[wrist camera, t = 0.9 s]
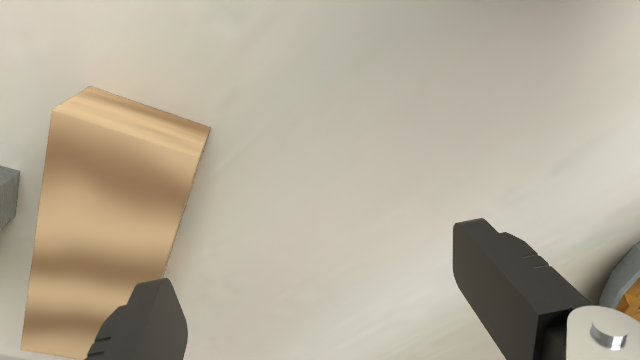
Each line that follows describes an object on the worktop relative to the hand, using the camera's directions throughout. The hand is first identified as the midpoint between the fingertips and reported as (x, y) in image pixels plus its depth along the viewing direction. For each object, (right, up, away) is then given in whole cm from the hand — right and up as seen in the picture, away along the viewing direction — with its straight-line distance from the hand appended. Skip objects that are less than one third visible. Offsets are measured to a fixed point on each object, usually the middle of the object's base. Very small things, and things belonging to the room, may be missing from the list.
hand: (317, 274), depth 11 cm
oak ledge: (-15, -1, +20) cm, 25 cm away
